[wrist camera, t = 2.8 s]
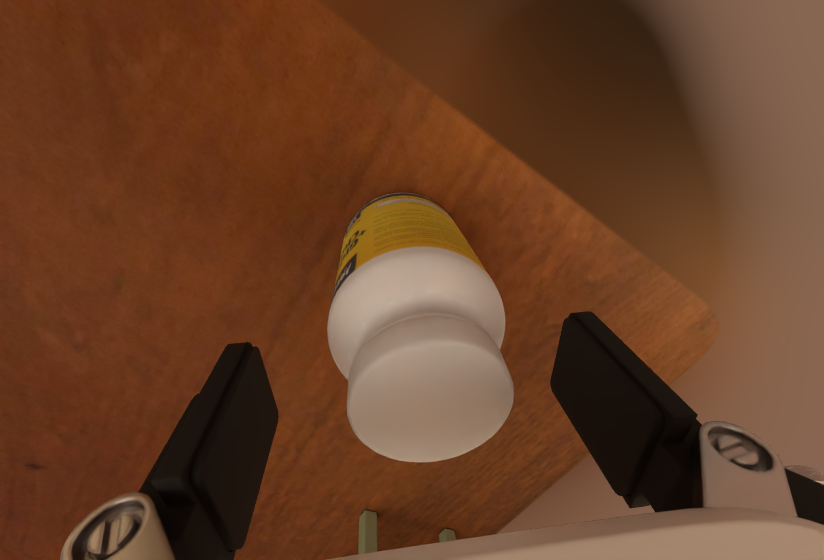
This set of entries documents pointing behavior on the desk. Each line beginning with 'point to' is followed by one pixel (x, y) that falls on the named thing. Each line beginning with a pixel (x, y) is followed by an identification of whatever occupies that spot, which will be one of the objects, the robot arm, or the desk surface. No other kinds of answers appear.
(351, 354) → the pill bottle
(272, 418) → the robot arm
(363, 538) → the mint side table
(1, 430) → the desk surface
